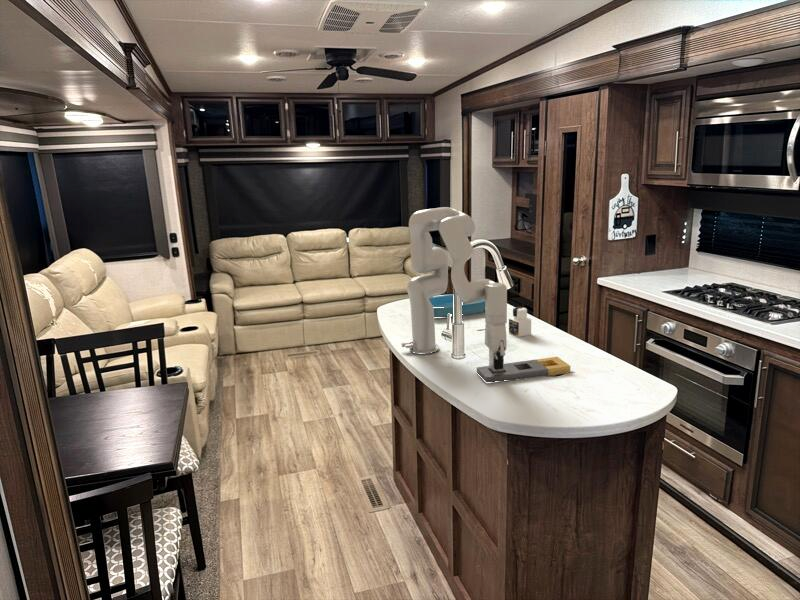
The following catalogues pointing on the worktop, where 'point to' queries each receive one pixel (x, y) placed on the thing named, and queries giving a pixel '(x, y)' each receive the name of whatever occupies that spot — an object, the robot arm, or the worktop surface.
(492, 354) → the steel peg
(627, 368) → the worktop surface
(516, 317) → the medicine bottle
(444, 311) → the casserole dish
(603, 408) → the worktop surface
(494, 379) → the rail
